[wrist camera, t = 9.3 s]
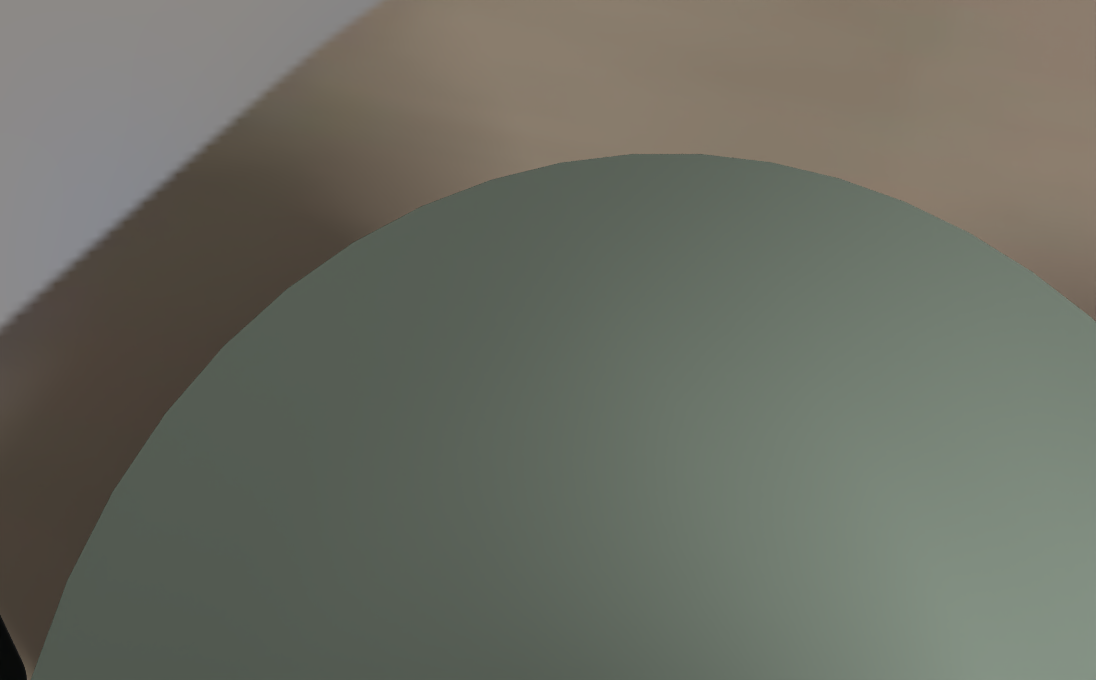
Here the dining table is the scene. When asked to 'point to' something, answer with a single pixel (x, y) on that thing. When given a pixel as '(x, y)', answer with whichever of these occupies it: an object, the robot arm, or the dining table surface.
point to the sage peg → (619, 452)
